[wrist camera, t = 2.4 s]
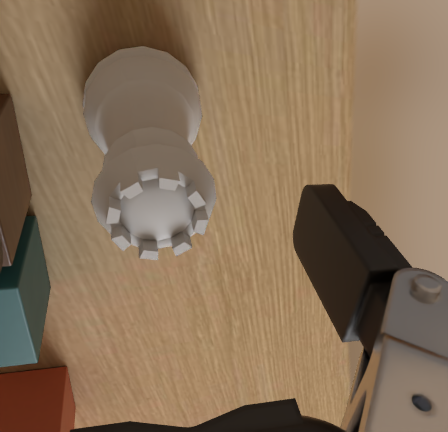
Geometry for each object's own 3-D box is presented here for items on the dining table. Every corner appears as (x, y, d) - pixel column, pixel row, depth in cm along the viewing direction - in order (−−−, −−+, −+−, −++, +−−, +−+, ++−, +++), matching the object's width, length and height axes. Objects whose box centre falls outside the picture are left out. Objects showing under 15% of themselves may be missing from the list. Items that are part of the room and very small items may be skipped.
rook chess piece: (60, 67, 16) (23, 181, 9) (175, 24, 15) (217, 110, 9) (114, 166, 18) (113, 306, 12) (212, 130, 18) (263, 252, 12)
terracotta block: (-17, 375, 24) (-39, 456, 21) (67, 365, 25) (59, 441, 22) (0, 417, 27) (-17, 496, 23) (75, 407, 28) (70, 481, 24)
